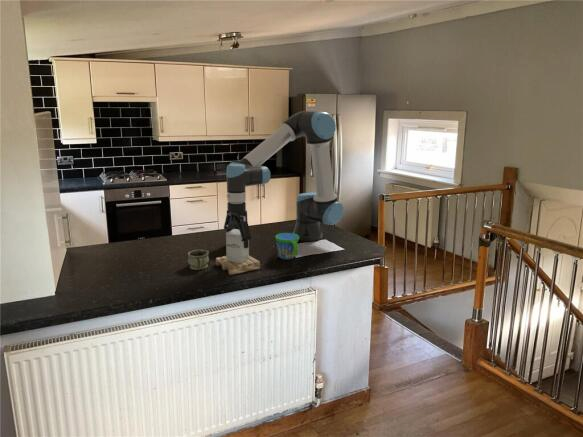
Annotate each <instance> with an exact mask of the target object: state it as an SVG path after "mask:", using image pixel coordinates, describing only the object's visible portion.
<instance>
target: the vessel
mask: <svg viewBox="0 0 583 437" xmlns="http://www.w3.org/2000/svg"><path fill="white" fill-rule="evenodd" d="M187 255H188V256H187V263H188V264H189V269H191V270H195V271H197V270H198V271H199V270H200V269H201V270H204V268H205V269H206V268H208V266H209V265H208V263H209V261H210V259H209V250H206V249H194V250H193V249H192V250H191V251H189V252H187ZM201 270H200V271H201Z"/></svg>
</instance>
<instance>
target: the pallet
mask: <svg viewBox="0 0 583 437" xmlns="http://www.w3.org/2000/svg"><path fill="white" fill-rule="evenodd" d="M215 265H216V266H217V267H219V266H221V269H222V270H223V271H227V272H228V275H230V276H232V275H236V274H241V273H245V272H250V271H254V270H258V269H261V262H260V260H258V259H256V258H254V257H252V256H251V255H249V259H247V260H246V261H244V262H243V263H236V262H230V261H227V257H226V255H224V256H220V257H219V256H218V257H216V258H215Z"/></svg>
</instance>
